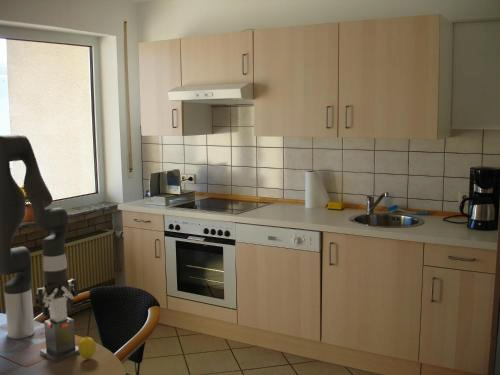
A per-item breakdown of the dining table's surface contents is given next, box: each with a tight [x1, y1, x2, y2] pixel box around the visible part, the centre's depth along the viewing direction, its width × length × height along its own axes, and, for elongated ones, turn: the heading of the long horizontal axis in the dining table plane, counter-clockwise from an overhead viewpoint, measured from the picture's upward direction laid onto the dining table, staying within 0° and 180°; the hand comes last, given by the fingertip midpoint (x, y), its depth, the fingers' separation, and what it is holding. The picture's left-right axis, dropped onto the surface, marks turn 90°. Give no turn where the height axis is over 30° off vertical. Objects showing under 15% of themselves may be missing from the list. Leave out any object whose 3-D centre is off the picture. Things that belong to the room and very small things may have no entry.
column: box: [48, 294, 68, 324], centre depth 186 cm, size 4×4×19 cm
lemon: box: [78, 336, 97, 360], centre depth 182 cm, size 6×6×8 cm
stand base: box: [39, 316, 80, 363], centre depth 186 cm, size 10×10×12 cm
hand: (58, 313), depth 185 cm, fingers open, 8 cm apart
